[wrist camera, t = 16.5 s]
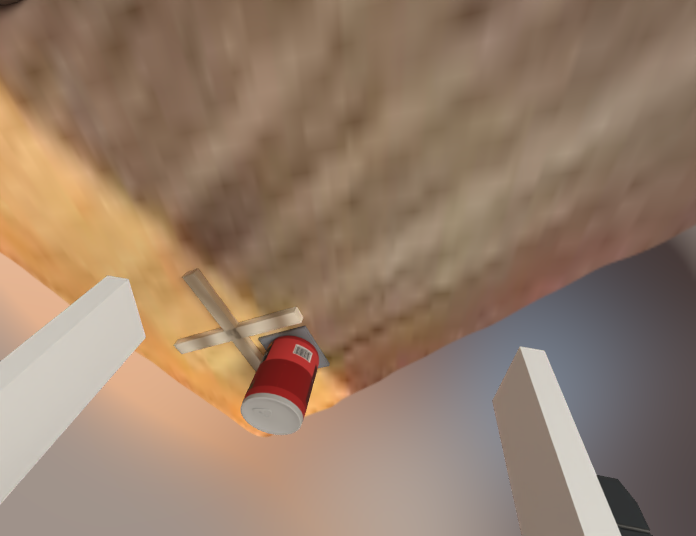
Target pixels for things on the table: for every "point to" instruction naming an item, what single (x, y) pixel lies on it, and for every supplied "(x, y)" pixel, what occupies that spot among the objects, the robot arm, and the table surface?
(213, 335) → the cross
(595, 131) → the table surface
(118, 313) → the robot arm
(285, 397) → the canned food
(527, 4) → the table surface
